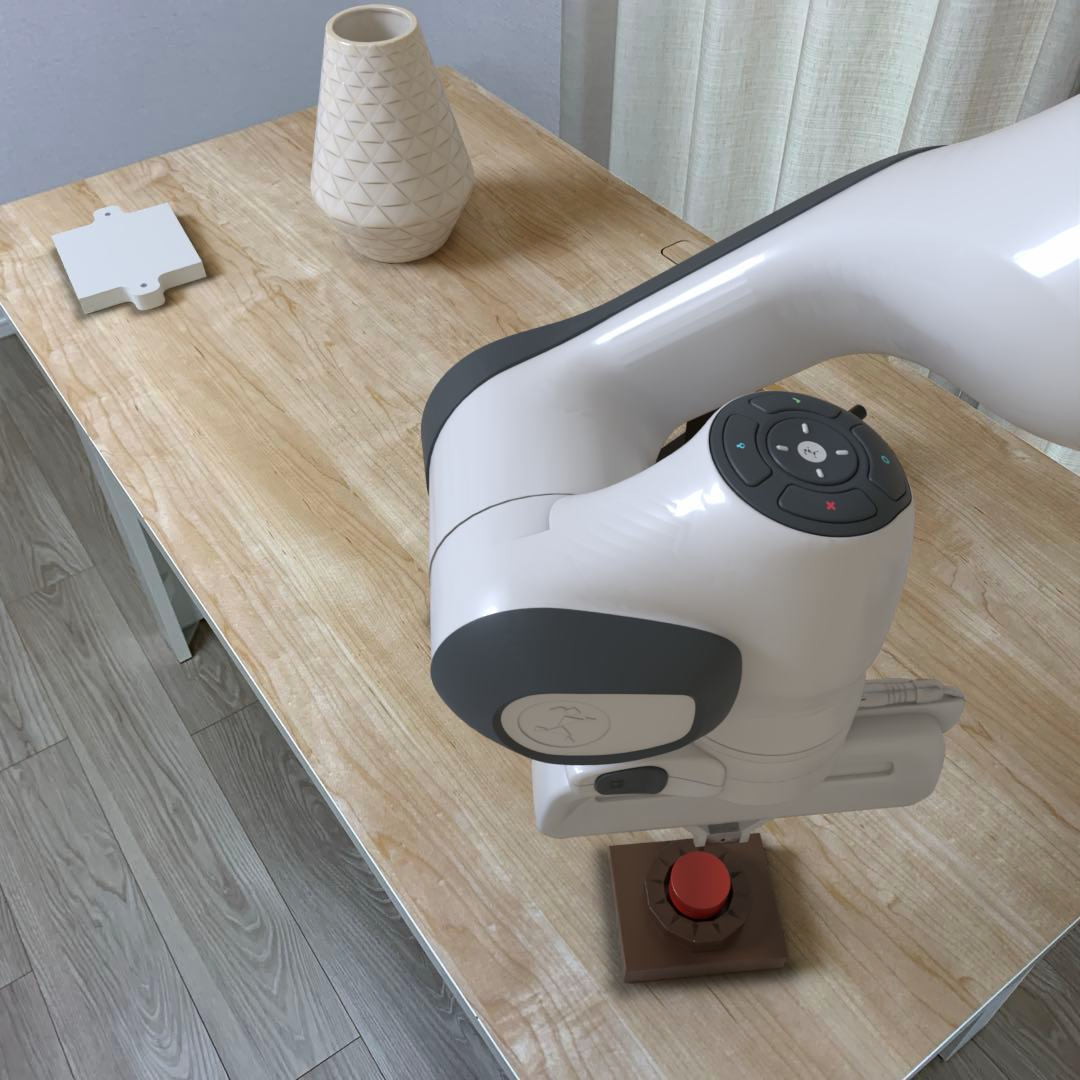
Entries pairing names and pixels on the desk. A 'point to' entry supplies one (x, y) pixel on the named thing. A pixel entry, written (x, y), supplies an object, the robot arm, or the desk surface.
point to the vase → (386, 138)
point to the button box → (687, 943)
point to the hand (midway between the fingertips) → (717, 832)
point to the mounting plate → (128, 257)
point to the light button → (699, 885)
